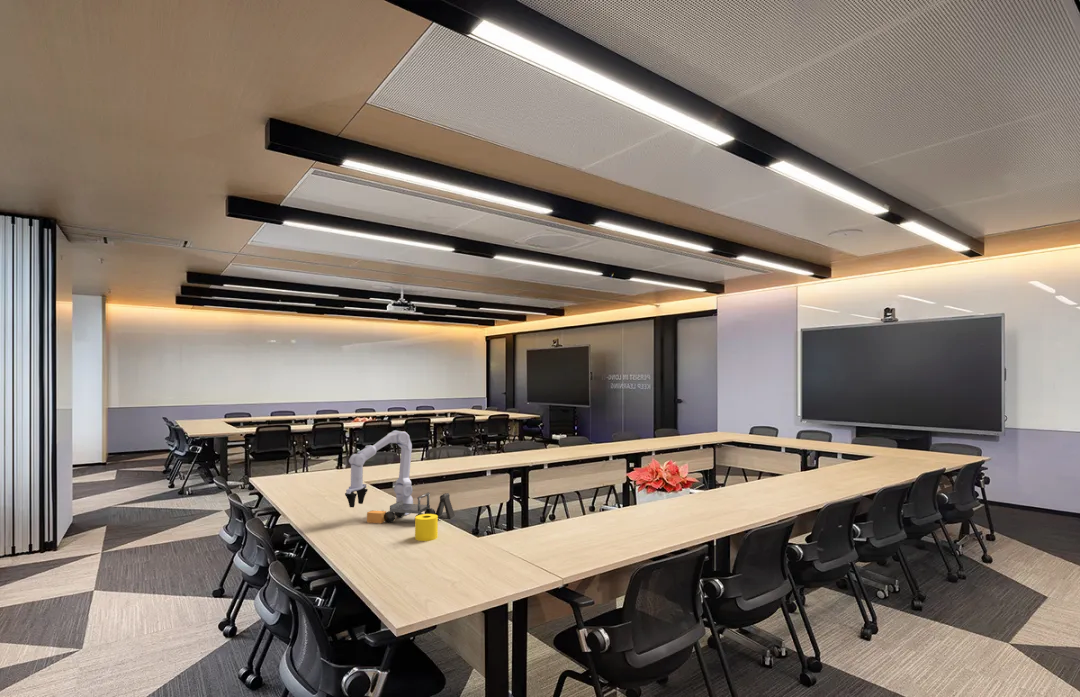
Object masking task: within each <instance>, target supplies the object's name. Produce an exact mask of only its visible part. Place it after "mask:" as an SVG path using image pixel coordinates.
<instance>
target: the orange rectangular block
mask: <svg viewBox="0 0 1080 697" xmlns="http://www.w3.org/2000/svg"><path fill="white" fill-rule="evenodd" d="M386 512H387V511H386V510H385V511H384V510H370V511H368V512H366V523H368V524H373V523H374V524H383V523H385V522H386V521H385V520H384V514H385V513H386ZM384 521H385V522H384Z"/></svg>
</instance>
